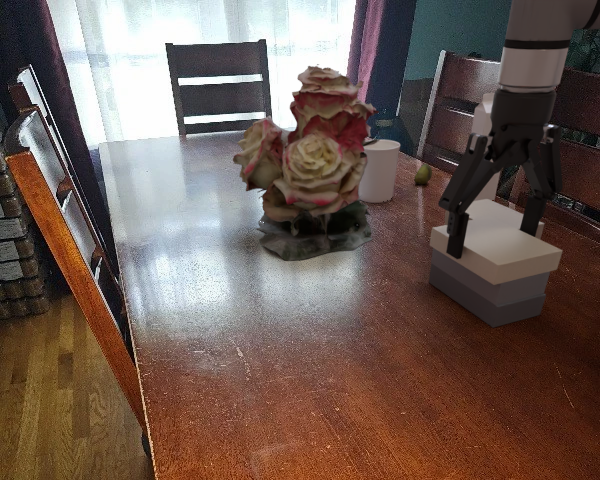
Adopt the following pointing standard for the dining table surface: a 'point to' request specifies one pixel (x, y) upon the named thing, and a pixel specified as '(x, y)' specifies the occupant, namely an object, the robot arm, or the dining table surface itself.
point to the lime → (423, 174)
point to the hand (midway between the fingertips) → (490, 248)
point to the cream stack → (496, 214)
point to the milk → (483, 127)
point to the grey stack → (488, 292)
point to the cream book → (499, 251)
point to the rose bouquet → (311, 168)
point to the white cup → (379, 171)
